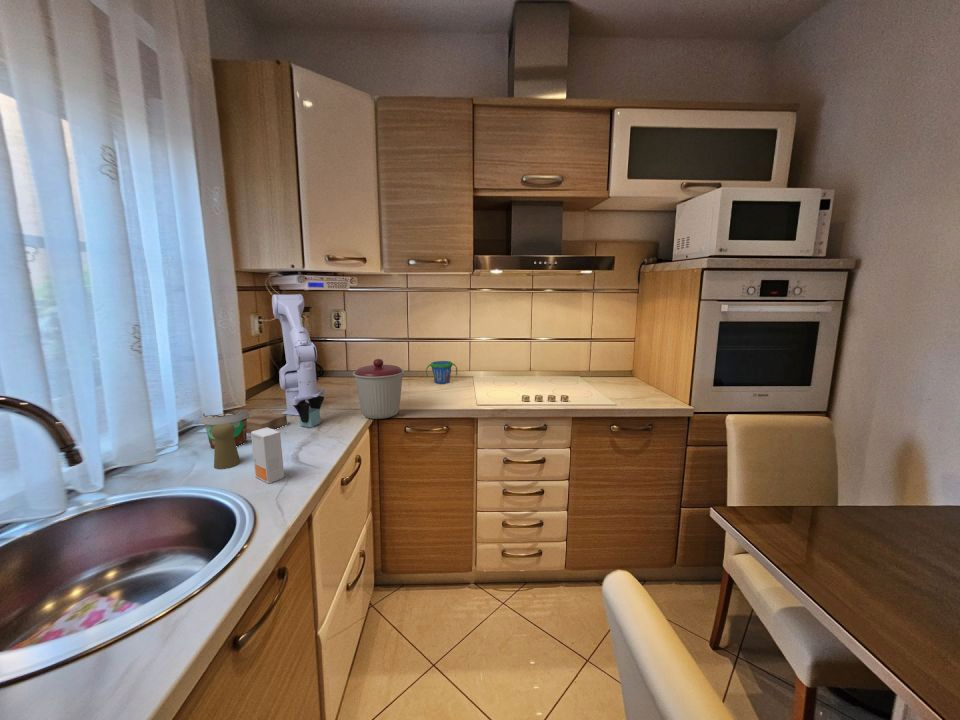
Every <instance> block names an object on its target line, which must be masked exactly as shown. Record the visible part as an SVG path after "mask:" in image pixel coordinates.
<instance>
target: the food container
mask: <svg viewBox="0 0 960 720" xmlns="http://www.w3.org/2000/svg"><path fill="white" fill-rule="evenodd" d="M248 417H250V414H249V412H248V411H247V409H245V410H244V411H242V412H239V413H233V412H226V413H225V412H224V413H219V414H214V415H213V414H210V415H205V412H204V413H202V416H201V420H200V422H201V424H203V425H204V427H205V430H206V434H207V438H208V442H209V447H210V448H211V449H212V450H215V438H214V437H213V436H212V428H213V427H214V426H216V425H219V424H224V423H230V424H233V425H234V427H235V433H234V435H233V437H234V440H235V444H236V446H237V447H240V446H242V445H244V444H246V443H247V438H248V437H247V434H248V433H247V418H248ZM245 442H246V443H245ZM243 443H244V444H243ZM241 444H242V445H241ZM239 445H240V446H239Z"/></svg>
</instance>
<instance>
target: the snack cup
mask: <svg viewBox="0 0 960 720" xmlns="http://www.w3.org/2000/svg"><path fill="white" fill-rule="evenodd" d="M453 366H454V367H455V376H456V377H457V376H458V366H457V365H456V364H455V363H454V362H452V361H448V360H437V361H432V362H430V363H429V364H428V365H427V366H426V370H425V375H426V377H428V375H429V374H428V368H429V367H431V370H432V375H433V381H434V383H435V384H437V385H444V384H448V383H450V382H451V381H450V380H451V376H452V375H451V373H452V367H453Z"/></svg>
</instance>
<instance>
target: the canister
mask: <svg viewBox="0 0 960 720" xmlns="http://www.w3.org/2000/svg"><path fill="white" fill-rule="evenodd" d="M372 363H373V364H371V365H365V366H362V367H359V368H357V369H356V370H354V371H353V372H352V375H353V376H354V379H355V384H356V390H357V391H356V392H357V396H358V397H357V398H358V401H359V406H360V411H361V413H362V415H363V416H364V418H365V417H366V418H368V419H371V420H372V419H373V420H382V419H390V418H392V417H394V416H396V415H397V414H398V412H399V410H400V407H401V397H402V384H403V374H404V372H405V369H402V368H401V367H400V366H398V365H392V364H384V361H383V359H381V358H376V359H374V360H373V362H372Z"/></svg>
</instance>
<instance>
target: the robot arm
mask: <svg viewBox="0 0 960 720" xmlns="http://www.w3.org/2000/svg"><path fill="white" fill-rule="evenodd" d="M271 307H272V313H273V317H274V318H275V319H278V320H279V322H280V325H281V333H282V341H283V346H284V354H285V361H286V363H285V365H283V366H282V367H281V368H279V371H278V374H279V375H278V376H279V379H278V380H279V386H280V389H282V390H283V391H284V392H285V402H286V410H284V411H282V412H281V414H282V415H289V416H299V419H300V418H301V421H302V422H305V423H307V422H308V420H309V408H315V409H320V410H321V407H322V404H323V401H324V400H325V396H323V395H326V389H325V388H318V387H317V372H316V369H317V368H316V362H317V360H318V352H317V347H316V345H315V344H314V343H313V341H311V338H310V333H309V331H308V329H307V328H306V327H304V326H303V321H302V315H303V312H304V309H305V299H304V296H303V295H302V294H301V293H298V294H273V295H272V296H271Z"/></svg>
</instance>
